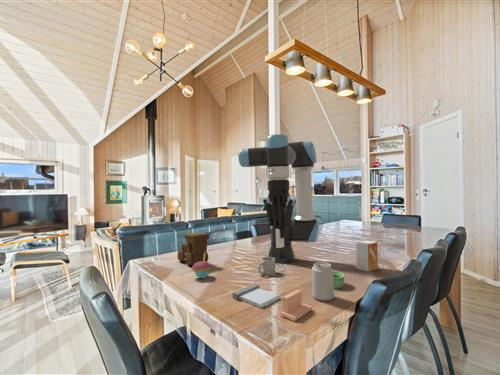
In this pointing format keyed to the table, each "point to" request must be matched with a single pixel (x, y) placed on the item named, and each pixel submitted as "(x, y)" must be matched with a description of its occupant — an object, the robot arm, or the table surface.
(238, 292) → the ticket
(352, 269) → the table surface
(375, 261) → the small box
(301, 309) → the stub
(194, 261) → the wooden toy train
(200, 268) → the cupcake
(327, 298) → the can
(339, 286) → the ramekin
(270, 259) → the mug
